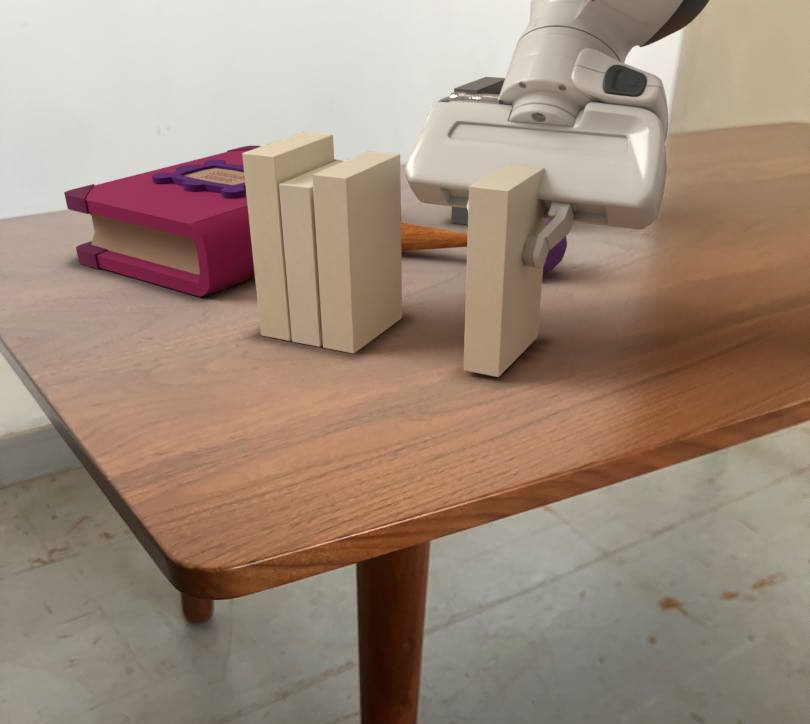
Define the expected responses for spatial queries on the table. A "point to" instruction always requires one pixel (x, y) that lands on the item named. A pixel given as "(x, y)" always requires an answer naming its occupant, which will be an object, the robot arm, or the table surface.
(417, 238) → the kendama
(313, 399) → the table surface
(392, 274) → the cream books
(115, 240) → the book
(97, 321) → the table surface
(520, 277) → the cream book
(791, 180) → the table surface
